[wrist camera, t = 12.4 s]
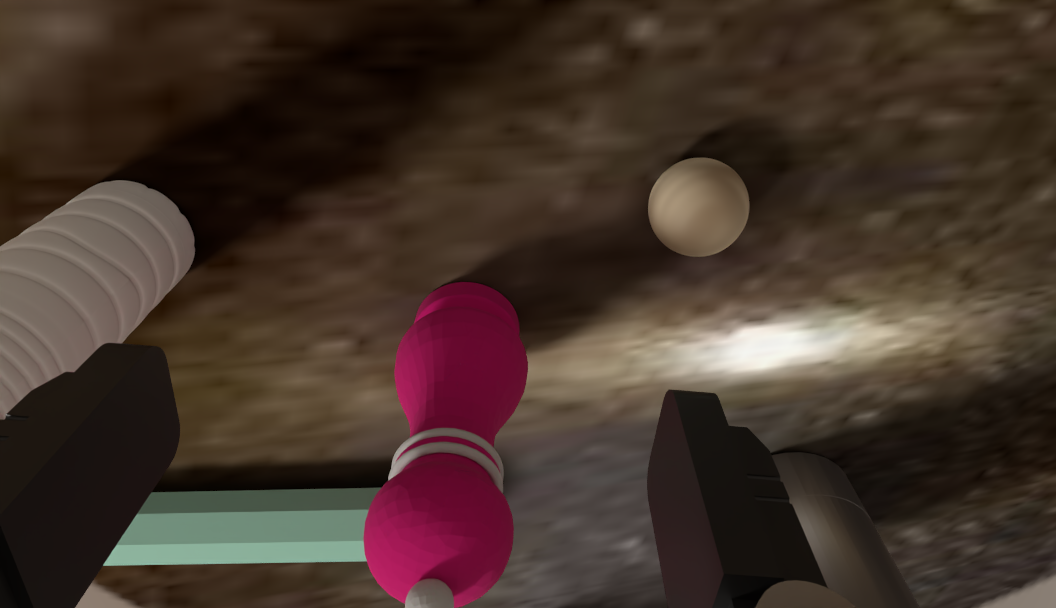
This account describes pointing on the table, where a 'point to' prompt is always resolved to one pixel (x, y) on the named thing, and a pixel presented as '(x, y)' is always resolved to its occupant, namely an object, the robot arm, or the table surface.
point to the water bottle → (85, 280)
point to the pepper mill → (449, 452)
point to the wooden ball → (698, 207)
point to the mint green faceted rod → (247, 527)
